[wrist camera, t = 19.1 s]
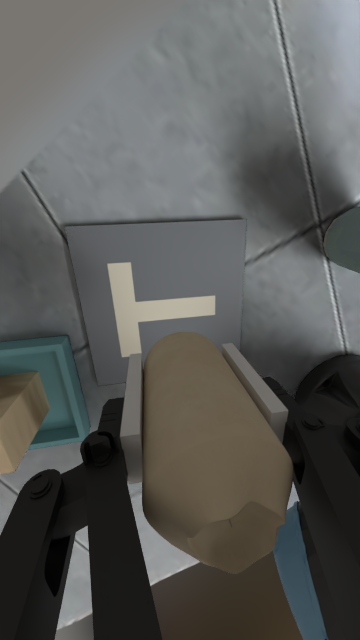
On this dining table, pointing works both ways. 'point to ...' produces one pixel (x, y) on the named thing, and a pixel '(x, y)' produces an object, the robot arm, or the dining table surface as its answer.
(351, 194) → the dining table surface
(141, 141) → the dining table surface
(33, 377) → the wooden block
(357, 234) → the disposable coffee cup
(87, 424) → the tray
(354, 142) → the dining table surface
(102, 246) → the board
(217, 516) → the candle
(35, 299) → the dining table surface
